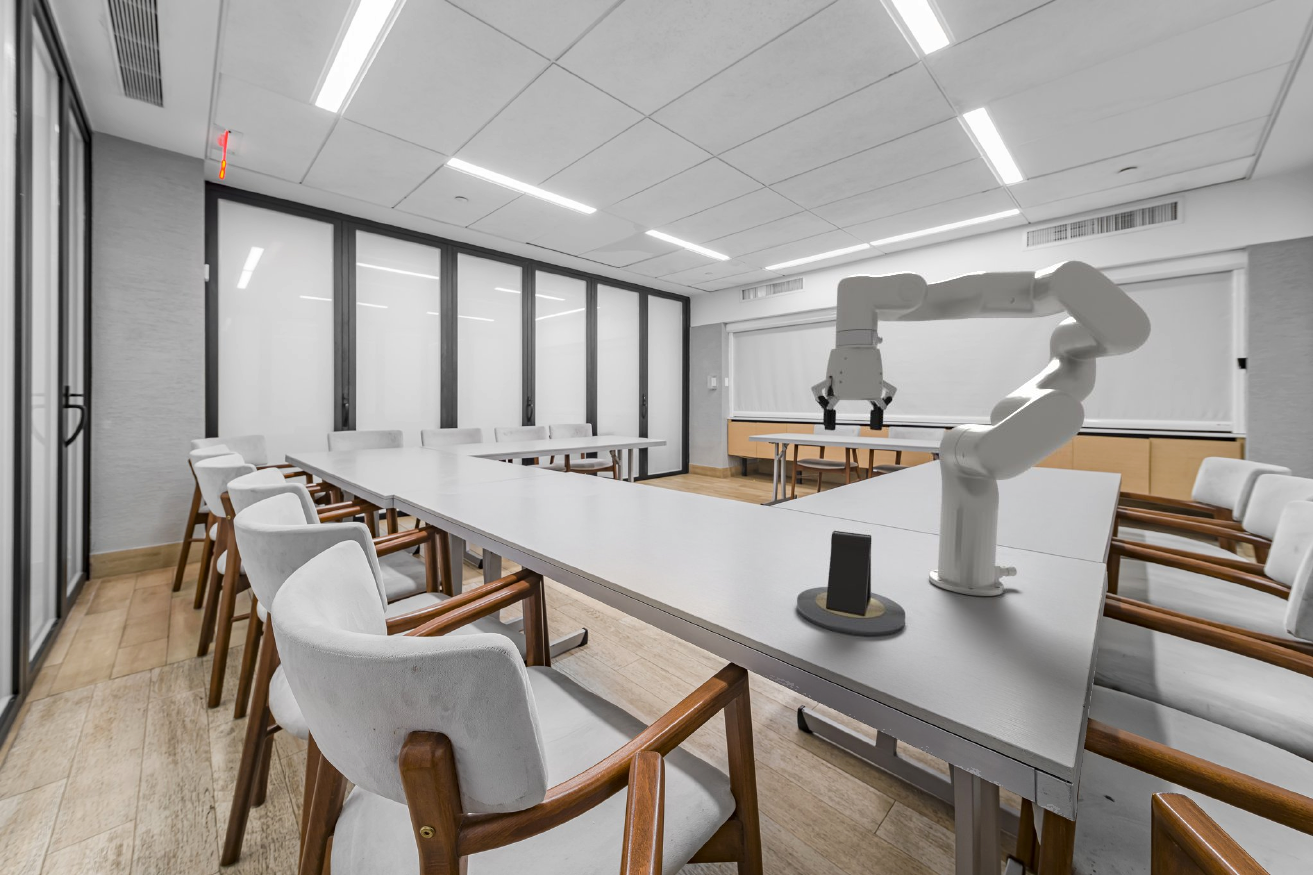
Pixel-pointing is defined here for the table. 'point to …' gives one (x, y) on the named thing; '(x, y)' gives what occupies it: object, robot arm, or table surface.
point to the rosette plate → (852, 615)
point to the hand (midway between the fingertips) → (852, 430)
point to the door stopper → (849, 573)
